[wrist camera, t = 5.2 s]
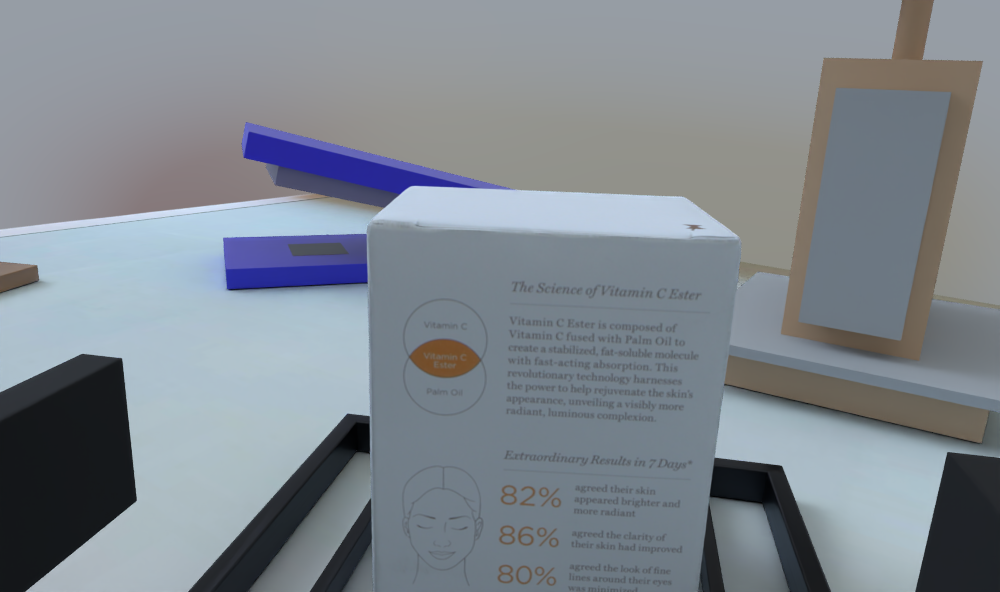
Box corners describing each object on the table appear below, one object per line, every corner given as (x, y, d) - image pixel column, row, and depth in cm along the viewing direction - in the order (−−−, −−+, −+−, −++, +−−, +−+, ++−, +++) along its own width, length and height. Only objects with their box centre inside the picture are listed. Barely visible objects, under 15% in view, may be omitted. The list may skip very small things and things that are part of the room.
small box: (655, 527, 23) (694, 194, 20) (693, 659, 18) (753, 233, 15) (402, 512, 24) (405, 180, 21) (366, 638, 18) (363, 214, 15)
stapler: (224, 252, 56) (216, 120, 54) (557, 241, 66) (565, 129, 63) (227, 293, 46) (218, 131, 43) (622, 272, 56) (634, 140, 53)
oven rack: (132, 703, 16) (127, 657, 16) (347, 441, 28) (347, 412, 28) (901, 852, 14) (914, 802, 13) (777, 496, 26) (782, 464, 25)
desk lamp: (1123, 509, 26) (1572, -927, 16) (601, 379, 35) (685, -574, 25) (1057, 352, 42) (1259, -406, 32) (713, 292, 51) (790, -309, 42)
